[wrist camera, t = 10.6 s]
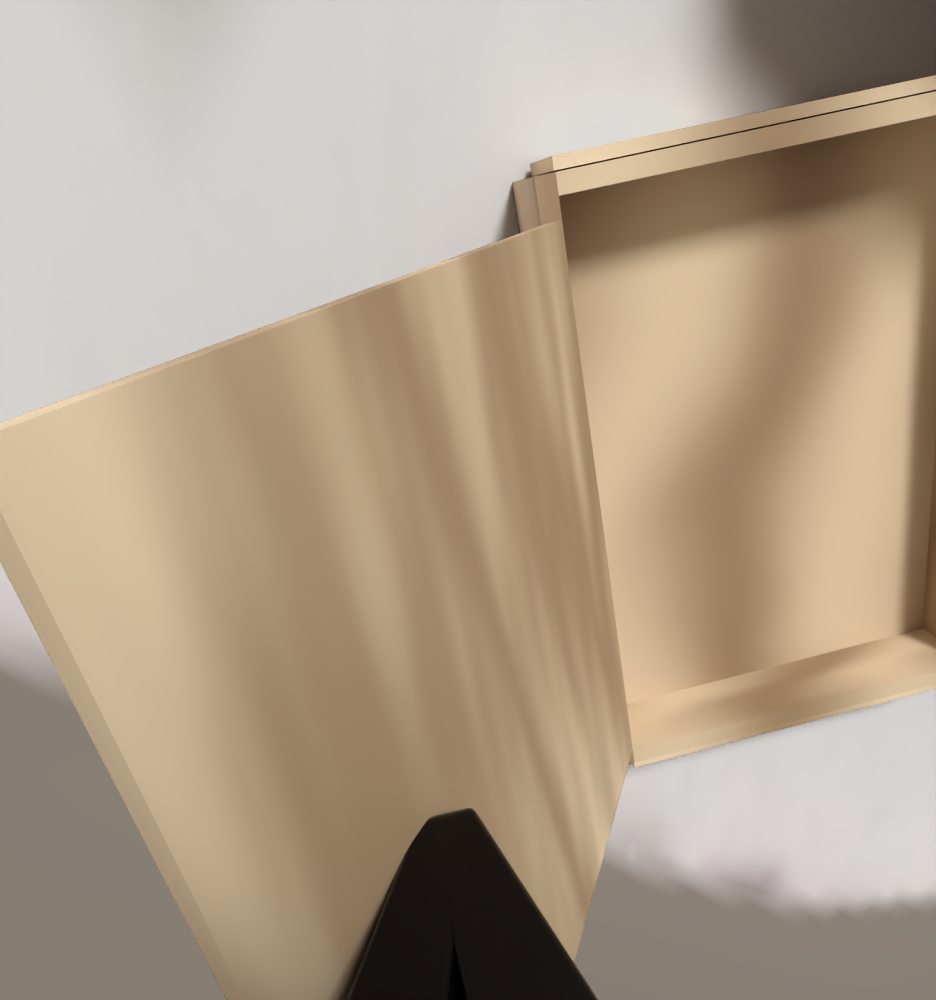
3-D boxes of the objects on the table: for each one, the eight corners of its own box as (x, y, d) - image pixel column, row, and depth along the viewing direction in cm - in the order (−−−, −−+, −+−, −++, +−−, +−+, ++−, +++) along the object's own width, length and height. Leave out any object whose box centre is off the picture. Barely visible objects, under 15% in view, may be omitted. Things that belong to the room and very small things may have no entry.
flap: (561, 219, 13) (-33, 443, 4) (632, 749, 17) (451, 1411, 8) (548, 222, 13) (-61, 445, 4) (623, 747, 17) (433, 1399, 8)
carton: (1182, 26, 15) (1297, -2, 13) (1084, 600, 21) (1155, 637, 19) (510, 168, 14) (532, 160, 12) (597, 726, 20) (621, 777, 18)
